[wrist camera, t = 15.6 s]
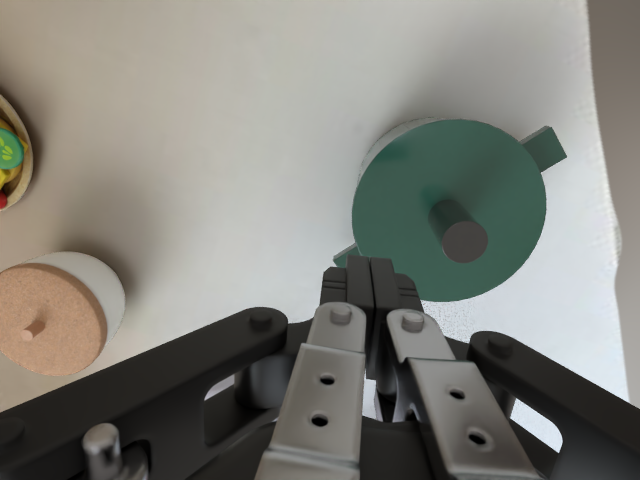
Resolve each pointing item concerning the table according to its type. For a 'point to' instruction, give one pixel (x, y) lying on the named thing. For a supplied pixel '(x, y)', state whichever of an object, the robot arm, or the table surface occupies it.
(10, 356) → the trinket box
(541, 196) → the lid
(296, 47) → the table surface
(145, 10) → the table surface
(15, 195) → the toy food set
